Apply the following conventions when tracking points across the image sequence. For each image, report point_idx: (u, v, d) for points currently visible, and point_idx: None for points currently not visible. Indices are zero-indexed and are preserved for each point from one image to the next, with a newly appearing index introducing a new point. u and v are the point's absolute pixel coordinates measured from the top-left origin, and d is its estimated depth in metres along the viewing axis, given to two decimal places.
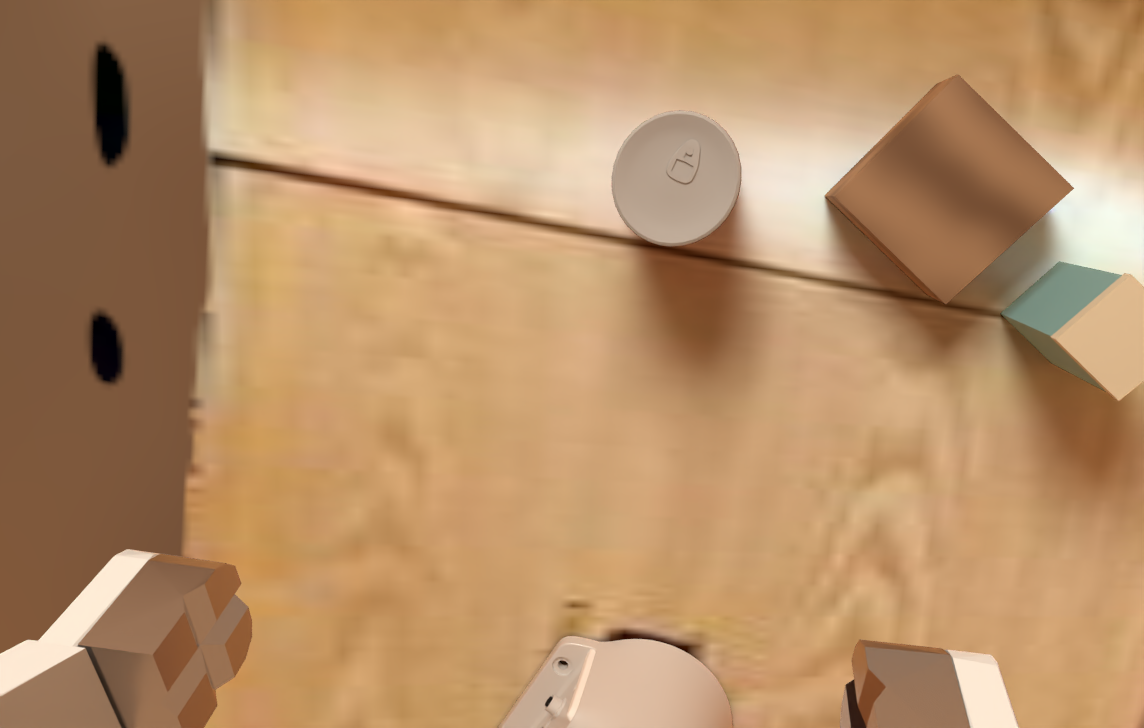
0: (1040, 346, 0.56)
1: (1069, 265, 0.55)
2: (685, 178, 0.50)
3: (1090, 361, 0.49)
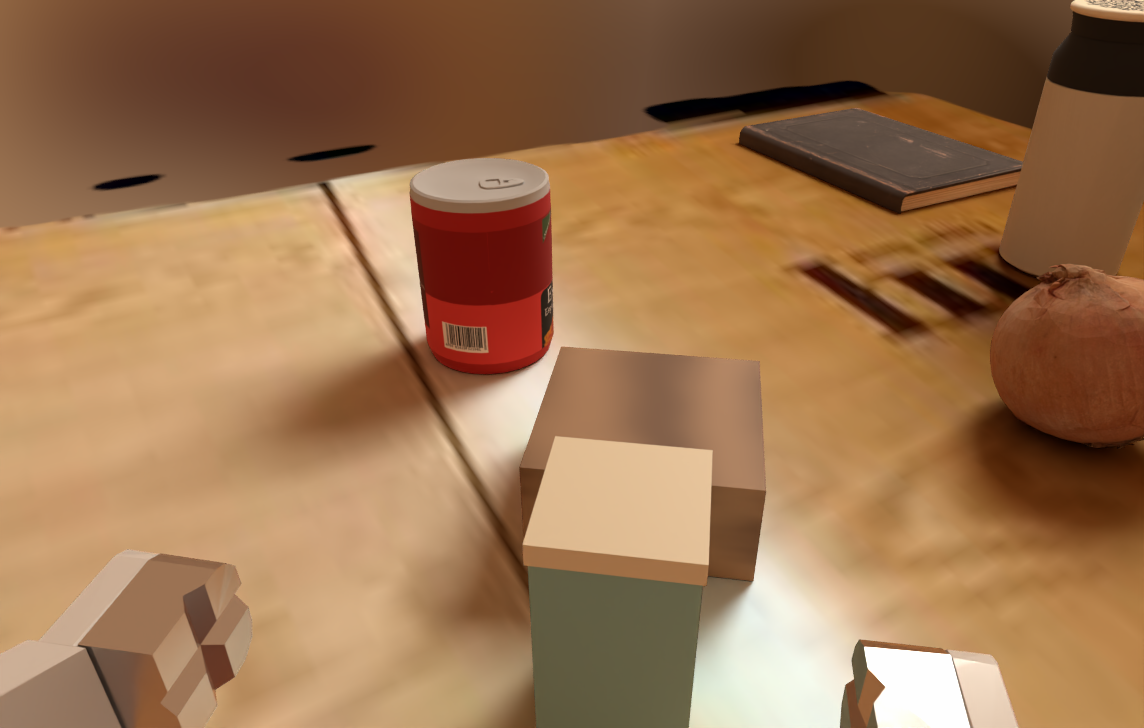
0: None
1: None
2: (486, 185, 0.47)
3: (556, 481, 0.26)
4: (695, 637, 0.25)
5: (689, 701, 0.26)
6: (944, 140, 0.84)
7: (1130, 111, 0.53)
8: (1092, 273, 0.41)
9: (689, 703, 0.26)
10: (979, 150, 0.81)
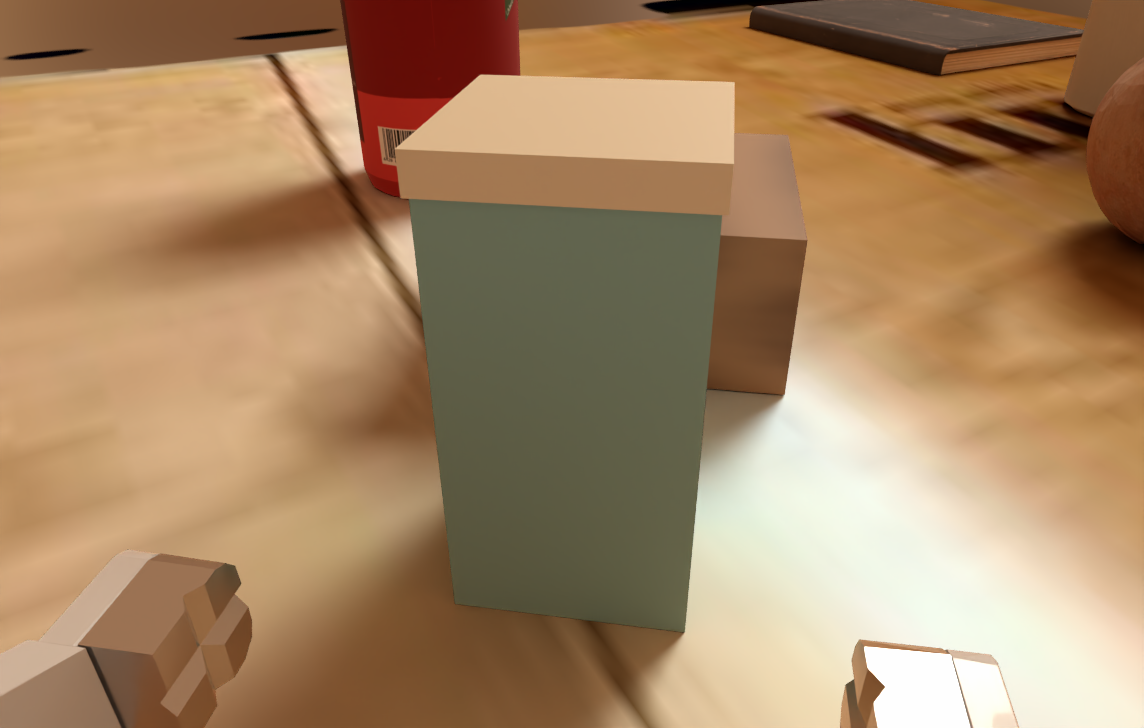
0: None
1: None
2: None
3: (472, 103, 0.15)
4: (707, 340, 0.14)
5: (695, 477, 0.15)
6: (985, 15, 0.73)
7: None
8: None
9: (695, 481, 0.16)
10: (1026, 21, 0.70)
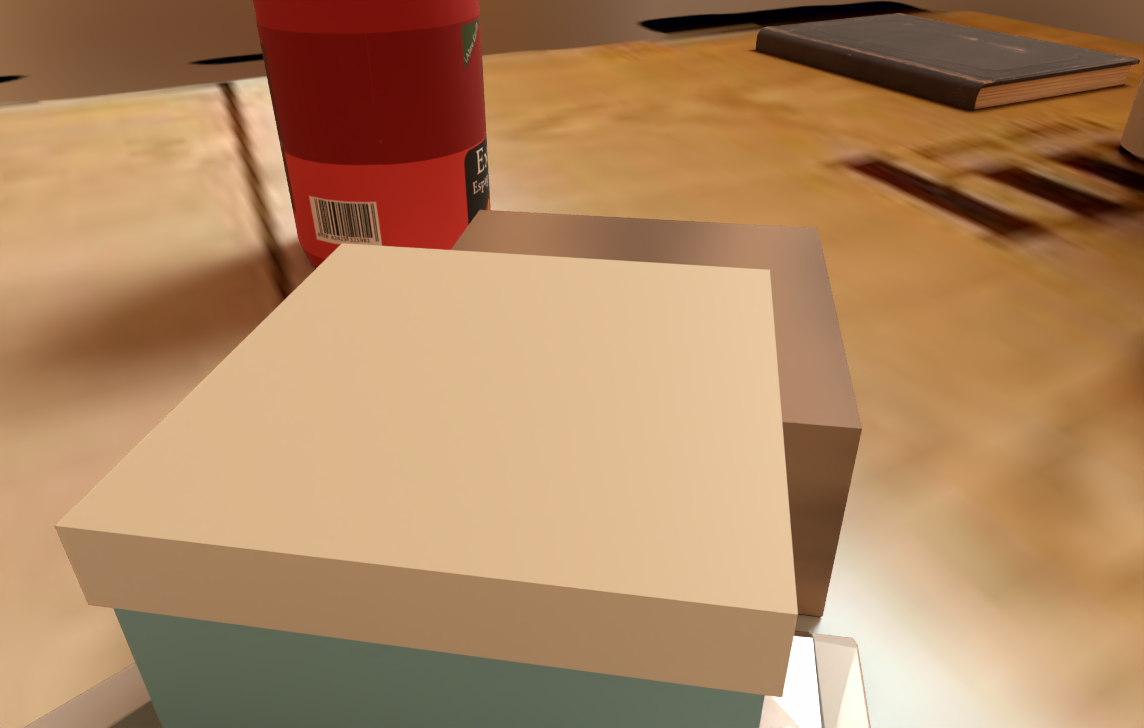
0: None
1: None
2: None
3: (293, 336, 0.08)
4: None
5: None
6: (1017, 38, 0.66)
7: None
8: None
9: None
10: (1064, 46, 0.63)
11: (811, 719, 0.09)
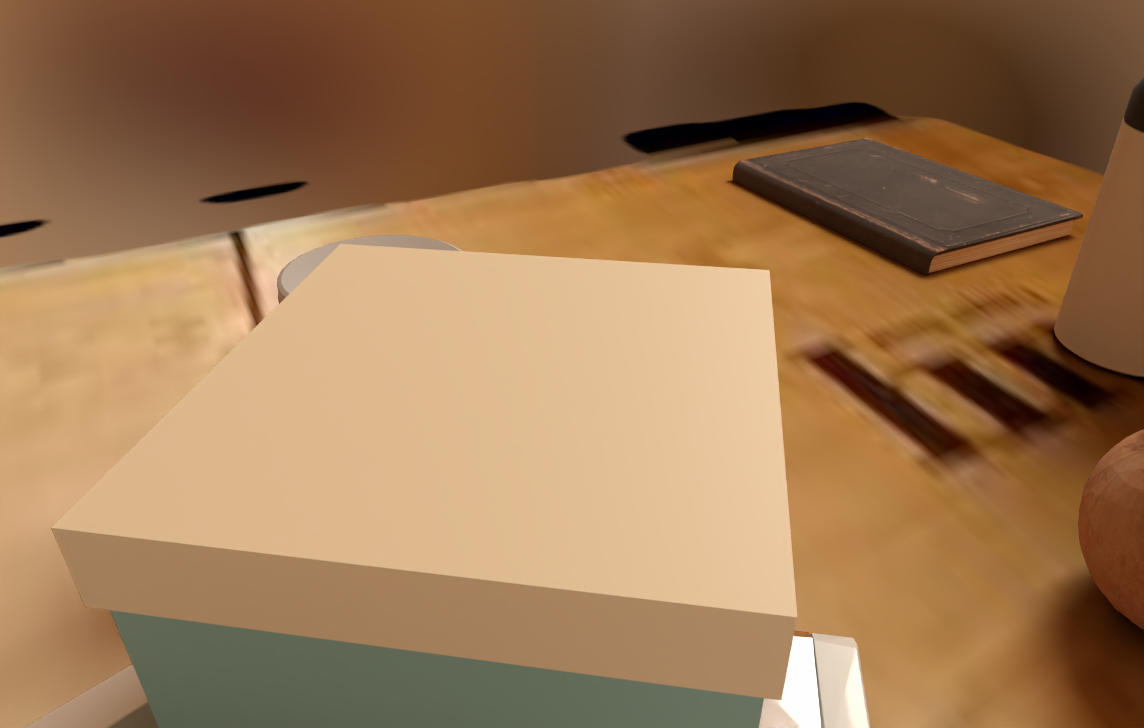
0: None
1: None
2: None
3: (291, 337, 0.08)
4: None
5: None
6: (973, 180, 0.71)
7: None
8: None
9: None
10: (1016, 193, 0.68)
11: (811, 719, 0.09)
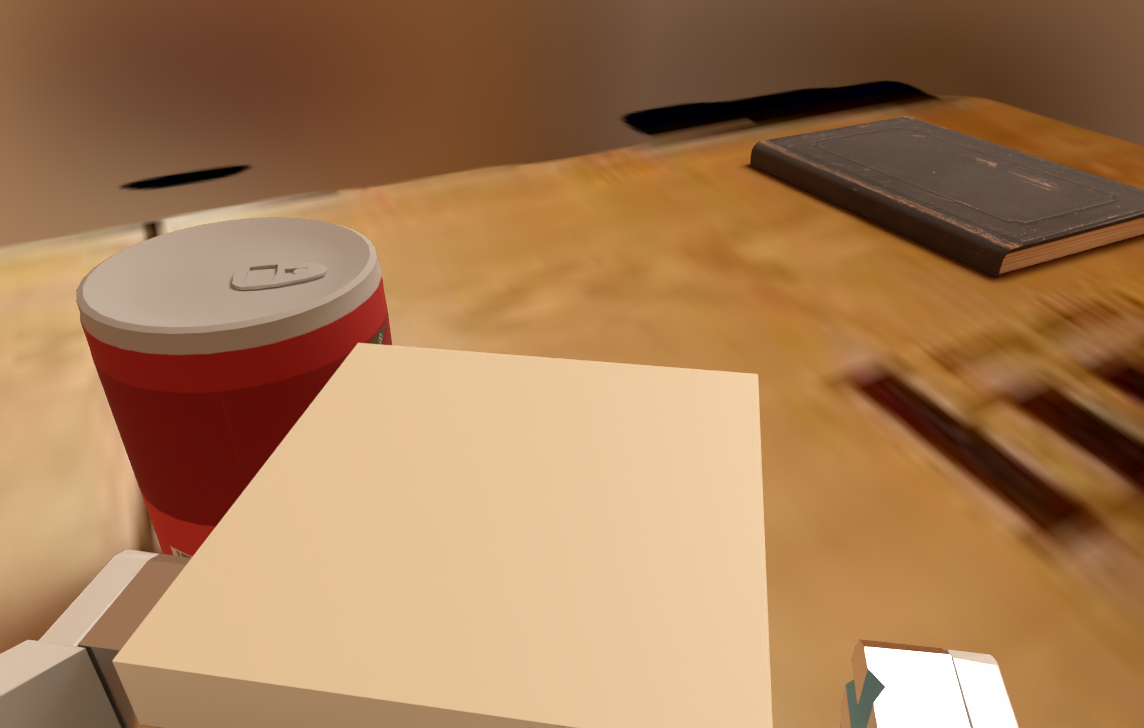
0: None
1: None
2: (243, 281, 0.23)
3: (316, 450, 0.09)
4: None
5: None
6: (1040, 163, 0.59)
7: None
8: None
9: None
10: (1095, 178, 0.56)
11: None
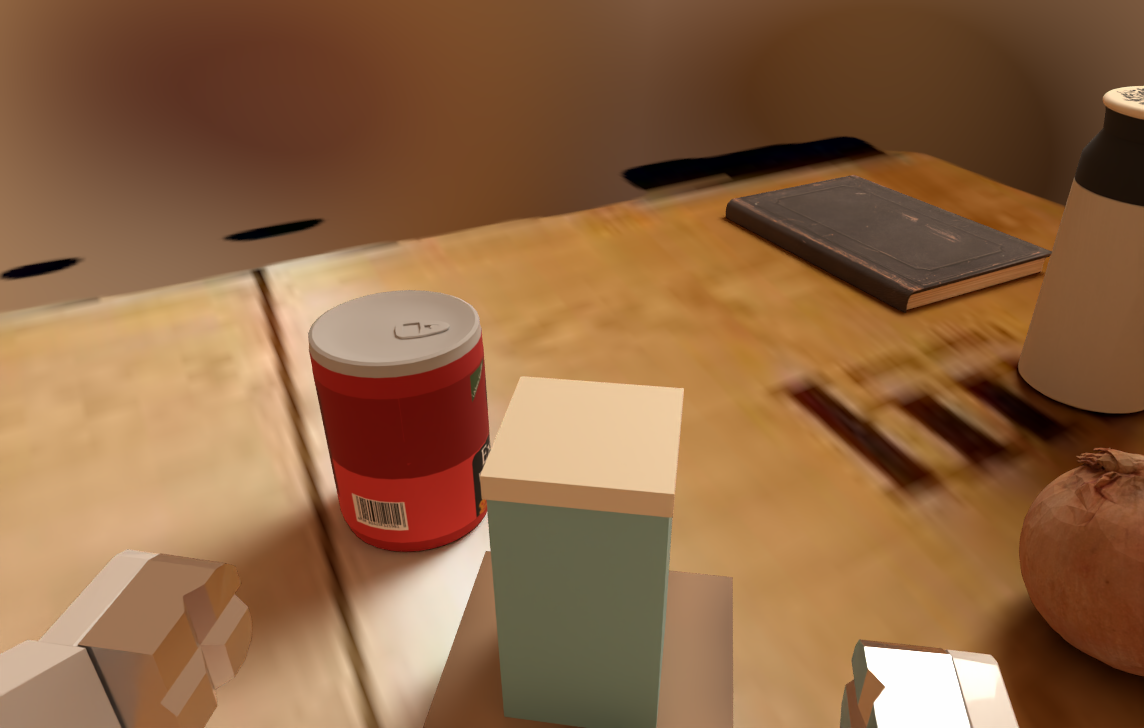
0: None
1: None
2: (402, 333, 0.39)
3: (519, 417, 0.25)
4: (663, 576, 0.23)
5: (659, 648, 0.25)
6: (952, 218, 0.75)
7: None
8: None
9: (659, 650, 0.25)
10: (991, 231, 0.72)
11: None
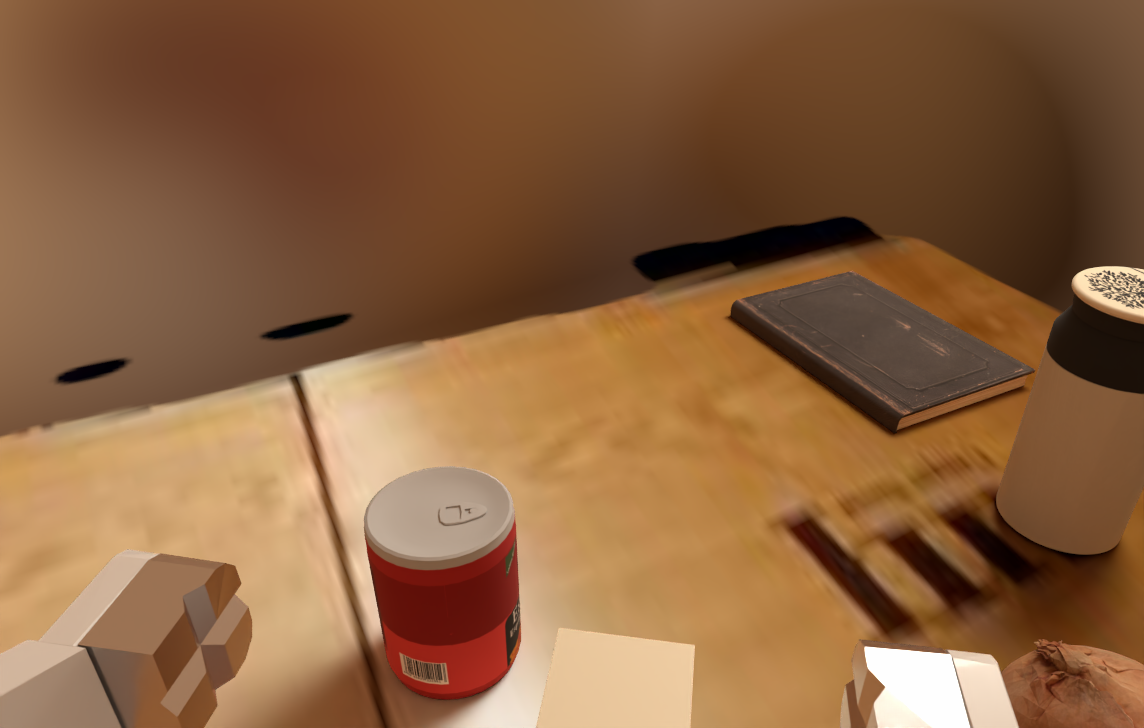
0: None
1: None
2: (446, 518, 0.44)
3: (560, 679, 0.30)
4: None
5: None
6: (942, 326, 0.81)
7: (1134, 407, 0.50)
8: (1092, 672, 0.38)
9: None
10: (979, 343, 0.78)
11: None
